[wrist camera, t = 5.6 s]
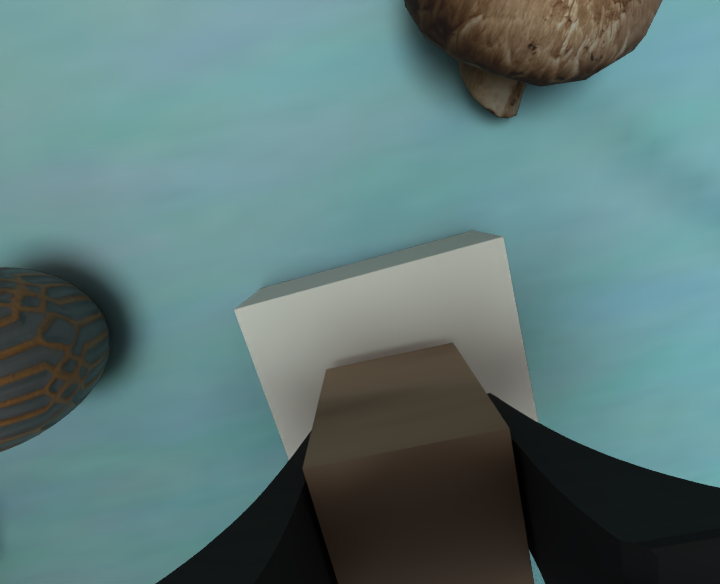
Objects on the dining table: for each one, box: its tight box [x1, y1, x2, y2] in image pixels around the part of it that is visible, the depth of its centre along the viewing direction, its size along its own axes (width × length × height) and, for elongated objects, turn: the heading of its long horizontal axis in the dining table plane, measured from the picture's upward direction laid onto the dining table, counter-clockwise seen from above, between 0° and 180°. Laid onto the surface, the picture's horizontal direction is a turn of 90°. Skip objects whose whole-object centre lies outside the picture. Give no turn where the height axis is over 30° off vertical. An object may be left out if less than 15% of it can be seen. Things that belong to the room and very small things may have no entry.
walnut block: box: [302, 342, 534, 584], centre depth 11 cm, size 4×4×5 cm
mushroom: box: [404, 0, 662, 118], centre depth 12 cm, size 8×8×6 cm
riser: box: [234, 231, 538, 460], centre depth 16 cm, size 10×10×4 cm
